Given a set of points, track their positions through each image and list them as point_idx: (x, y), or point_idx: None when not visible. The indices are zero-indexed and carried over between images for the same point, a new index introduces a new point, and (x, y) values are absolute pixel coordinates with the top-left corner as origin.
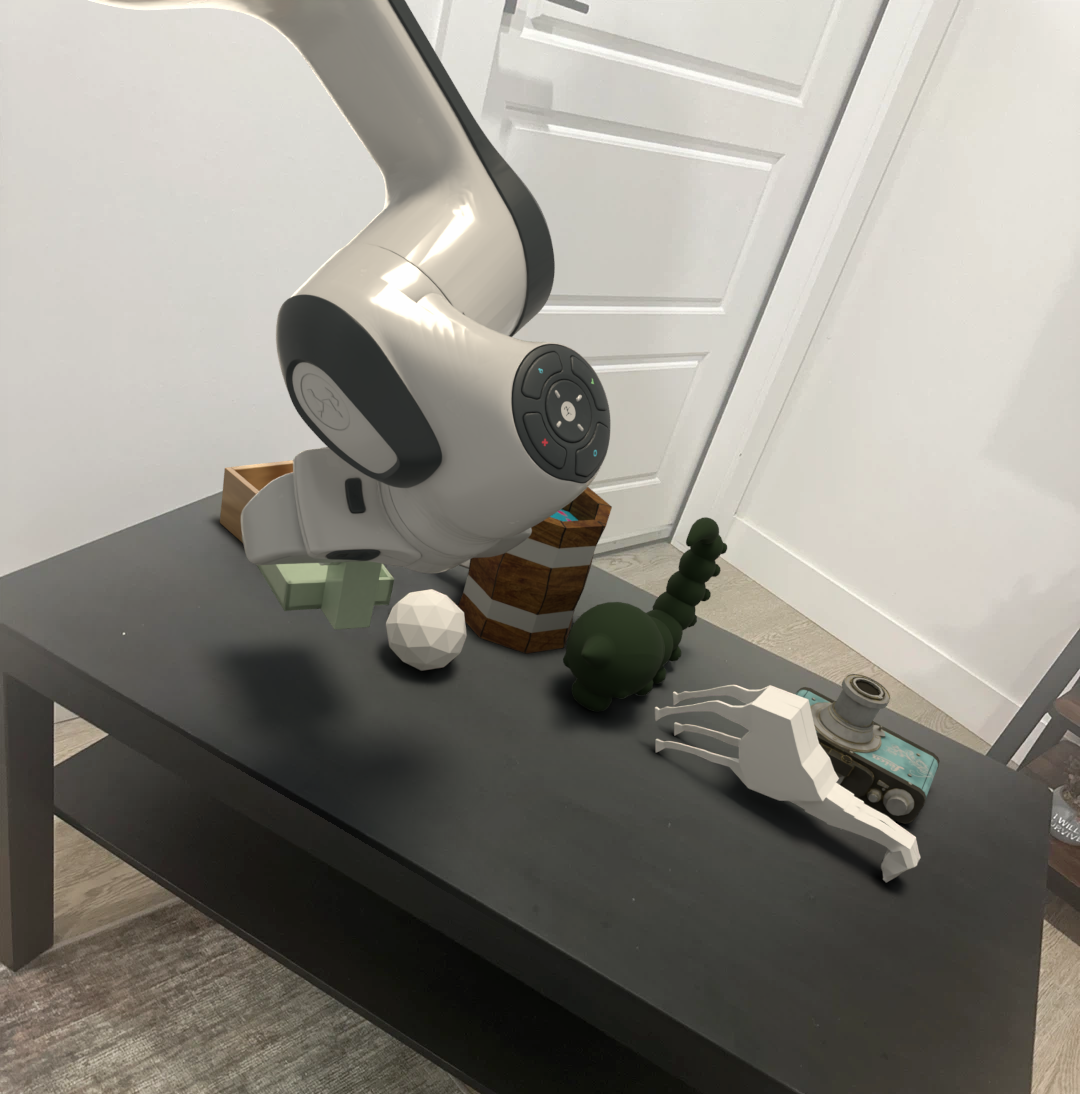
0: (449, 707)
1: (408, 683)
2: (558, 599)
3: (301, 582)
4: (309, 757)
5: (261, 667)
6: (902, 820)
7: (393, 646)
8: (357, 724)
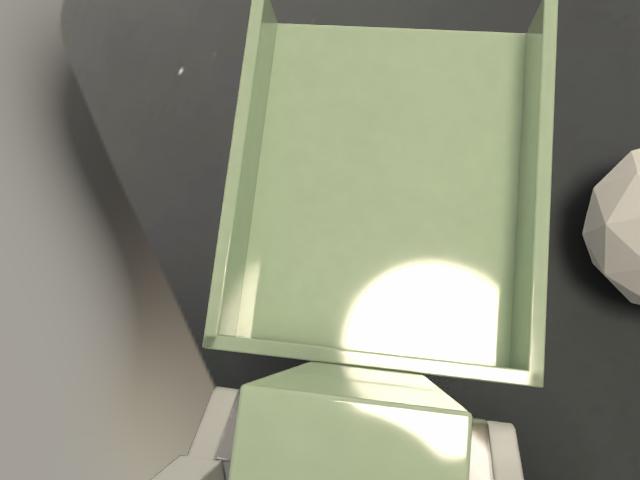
0: (633, 388)
1: (584, 298)
2: None
3: (242, 348)
4: None
5: None
6: None
7: (584, 240)
8: (434, 379)
